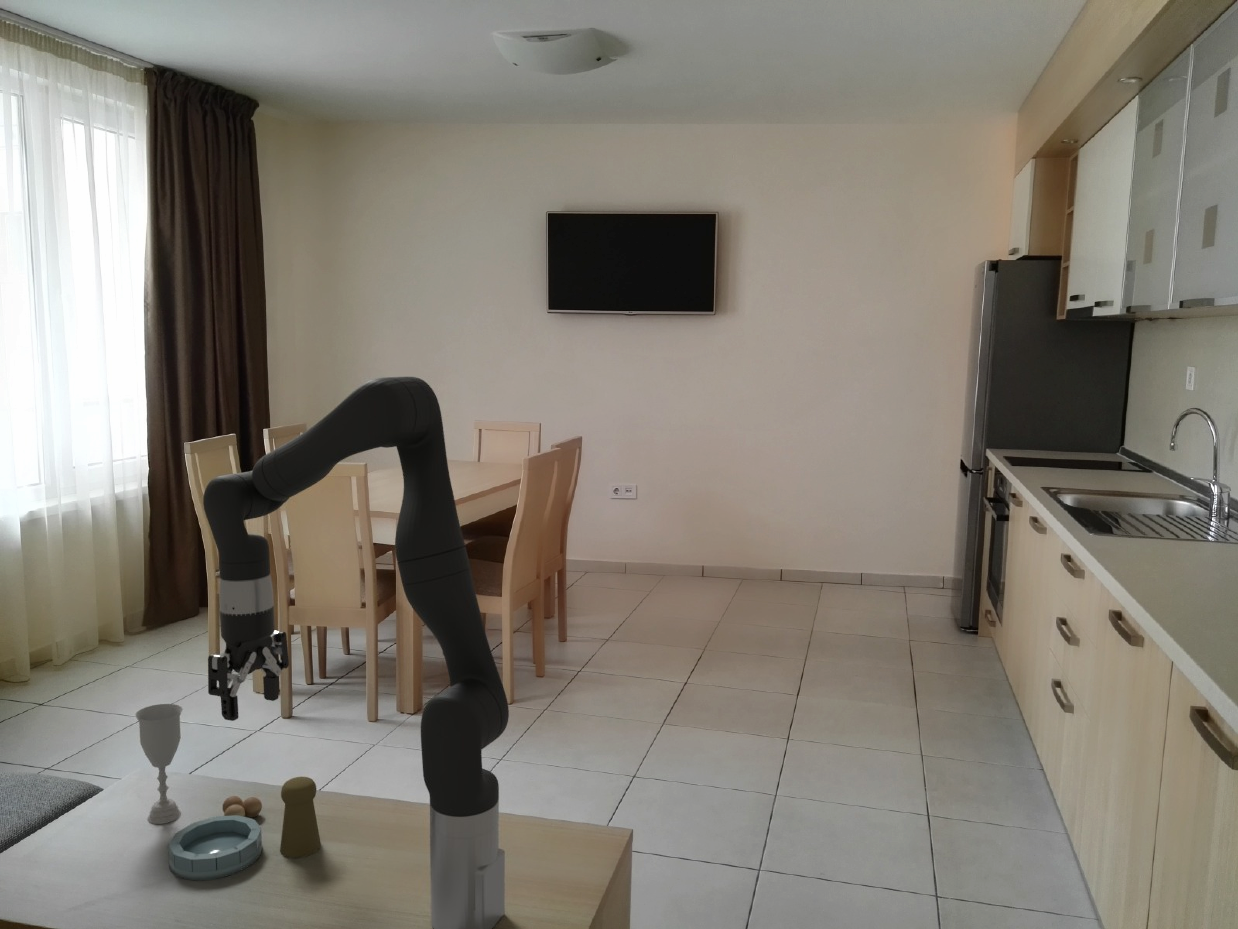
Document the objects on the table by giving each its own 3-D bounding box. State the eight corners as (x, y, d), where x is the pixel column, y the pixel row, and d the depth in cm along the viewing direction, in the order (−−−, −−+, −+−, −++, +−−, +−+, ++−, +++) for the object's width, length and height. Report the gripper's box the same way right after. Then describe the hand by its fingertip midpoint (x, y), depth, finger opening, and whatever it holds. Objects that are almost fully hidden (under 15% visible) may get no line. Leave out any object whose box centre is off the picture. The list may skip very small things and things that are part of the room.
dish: (280, 844, 146) (279, 825, 146) (217, 888, 134) (216, 867, 134) (215, 827, 151) (215, 808, 151) (149, 868, 139) (148, 848, 139)
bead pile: (265, 811, 157) (265, 793, 156) (250, 829, 151) (250, 811, 150) (227, 810, 157) (227, 792, 156) (211, 828, 151) (210, 810, 150)
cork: (307, 860, 142) (306, 791, 141) (272, 855, 143) (269, 787, 142) (327, 839, 148) (326, 774, 147) (293, 835, 149) (291, 770, 148)
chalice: (196, 813, 155) (191, 710, 153) (157, 831, 150) (152, 724, 147) (170, 802, 159) (165, 700, 157) (131, 818, 153) (126, 713, 151)
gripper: (231, 620, 132) (237, 730, 134) (299, 596, 145) (303, 696, 147) (190, 615, 134) (196, 723, 136) (260, 591, 148) (265, 690, 150)
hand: (251, 709), depth 142 cm, fingers open, 8 cm apart
